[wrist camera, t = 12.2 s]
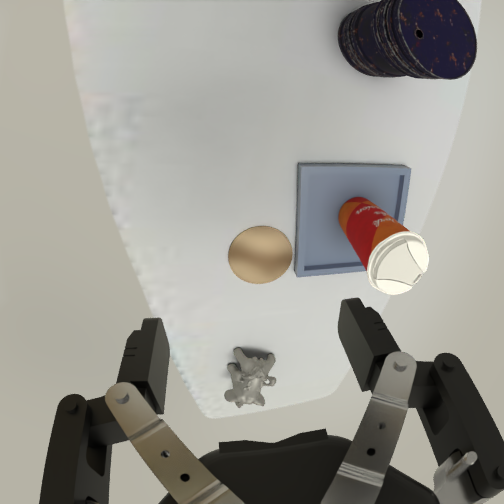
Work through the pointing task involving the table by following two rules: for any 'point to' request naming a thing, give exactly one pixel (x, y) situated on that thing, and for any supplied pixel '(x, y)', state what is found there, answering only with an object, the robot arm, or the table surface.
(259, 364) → the elephant statuette
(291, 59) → the table surface
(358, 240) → the paper cup
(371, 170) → the tray
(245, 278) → the cork coaster
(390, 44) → the storage jar
